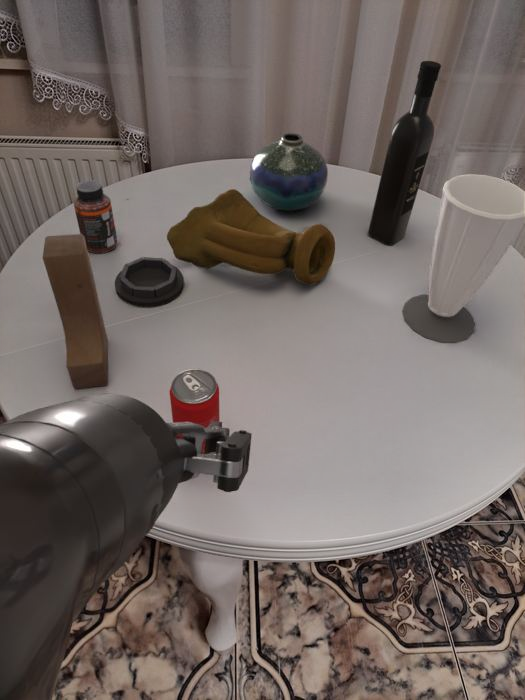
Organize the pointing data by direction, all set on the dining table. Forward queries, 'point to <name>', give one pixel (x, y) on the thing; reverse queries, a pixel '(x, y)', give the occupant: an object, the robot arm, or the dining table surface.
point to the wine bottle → (405, 162)
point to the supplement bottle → (95, 217)
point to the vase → (288, 173)
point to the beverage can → (195, 398)
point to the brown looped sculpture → (250, 240)
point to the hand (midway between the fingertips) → (161, 429)
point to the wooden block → (78, 309)
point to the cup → (465, 252)
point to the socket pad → (149, 282)
